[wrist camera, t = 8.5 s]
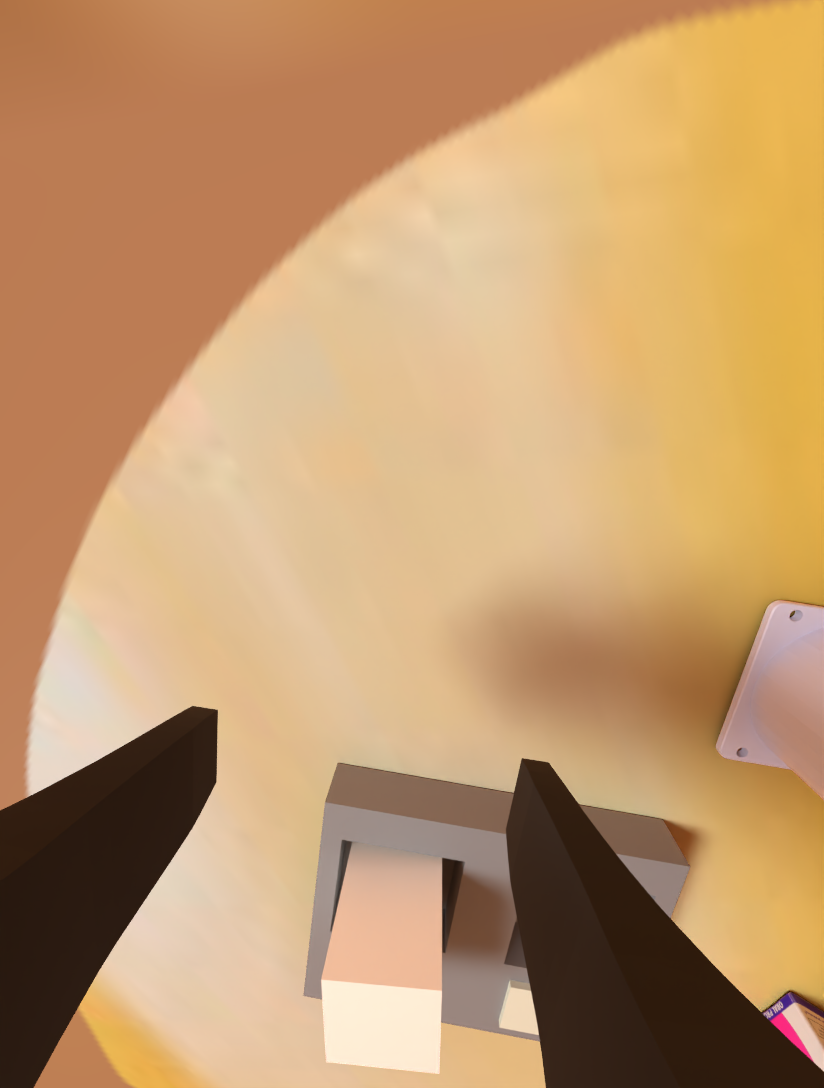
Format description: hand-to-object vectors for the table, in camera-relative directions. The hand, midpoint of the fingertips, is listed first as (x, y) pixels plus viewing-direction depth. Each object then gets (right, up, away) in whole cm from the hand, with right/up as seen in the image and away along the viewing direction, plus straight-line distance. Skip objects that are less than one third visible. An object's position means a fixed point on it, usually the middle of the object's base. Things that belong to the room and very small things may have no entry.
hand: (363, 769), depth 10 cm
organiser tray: (+5, -14, +14) cm, 20 cm away
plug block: (0, -12, +13) cm, 18 cm away
